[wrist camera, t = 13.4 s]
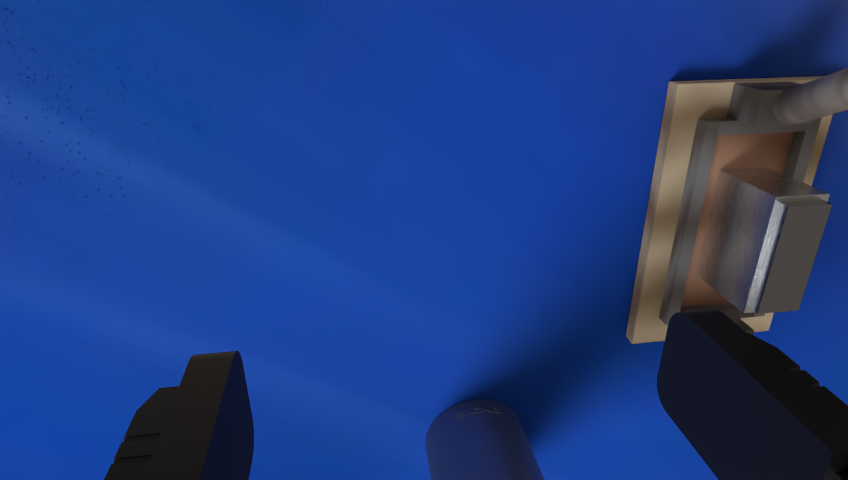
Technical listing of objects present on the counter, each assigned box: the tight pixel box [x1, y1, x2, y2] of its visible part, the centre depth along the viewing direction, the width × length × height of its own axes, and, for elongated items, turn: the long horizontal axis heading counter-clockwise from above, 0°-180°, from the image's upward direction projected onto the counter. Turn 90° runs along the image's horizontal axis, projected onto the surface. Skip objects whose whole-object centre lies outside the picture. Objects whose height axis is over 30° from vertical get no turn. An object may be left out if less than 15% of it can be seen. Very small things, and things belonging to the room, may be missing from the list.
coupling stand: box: [626, 68, 848, 344], centre depth 39 cm, size 31×13×15 cm, turn 1°
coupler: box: [696, 167, 832, 314], centre depth 41 cm, size 4×9×7 cm, turn 0°
